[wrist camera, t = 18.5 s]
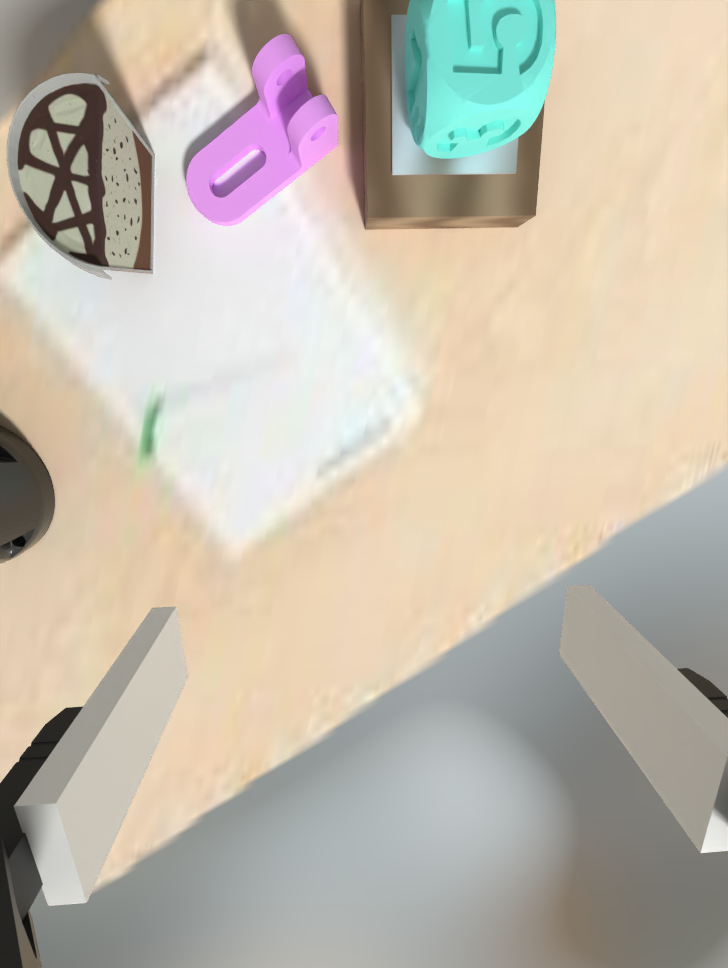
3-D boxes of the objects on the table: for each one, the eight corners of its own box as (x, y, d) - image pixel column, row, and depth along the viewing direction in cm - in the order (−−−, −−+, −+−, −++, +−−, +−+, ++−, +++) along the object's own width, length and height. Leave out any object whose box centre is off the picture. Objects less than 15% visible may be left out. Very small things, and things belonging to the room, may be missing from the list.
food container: (77, 118, 37) (-12, 41, 28) (154, 133, 38) (93, 63, 28) (82, 279, 41) (4, 260, 31) (152, 291, 41) (97, 275, 32)
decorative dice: (399, 41, 33) (418, -48, 26) (506, 24, 33) (555, -70, 26) (413, 166, 36) (433, 118, 28) (512, 150, 36) (559, 98, 28)
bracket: (298, 79, 37) (290, 23, 31) (338, 146, 39) (338, 105, 32) (177, 179, 39) (144, 146, 32) (219, 239, 41) (196, 219, 34)
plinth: (365, 229, 41) (368, 216, 37) (360, 4, 36) (363, -40, 32) (517, 227, 41) (537, 214, 37) (532, 5, 37) (557, -37, 33)
